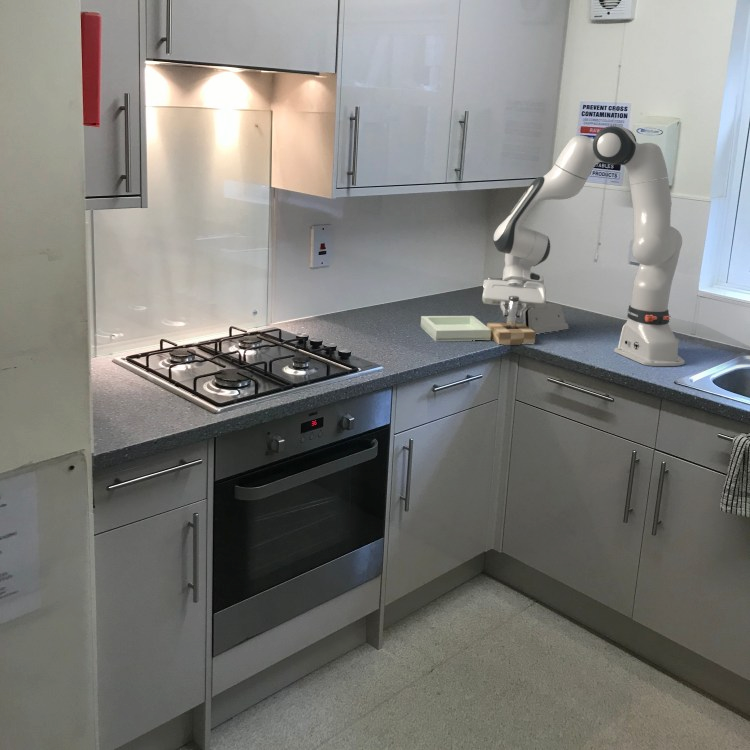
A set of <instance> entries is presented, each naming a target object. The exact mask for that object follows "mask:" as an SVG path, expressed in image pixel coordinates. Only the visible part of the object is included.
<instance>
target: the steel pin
mask: <svg viewBox="0 0 750 750" xmlns="http://www.w3.org/2000/svg"><path fill="white" fill-rule="evenodd" d="M518 301H519V297H518V296H509V304H508V307H507V308H508V315H507V316H506V323H507V325H506V329H516V323H517V321H518V320H517V318H518V317H517V310H519V309H518V308H519V307H518Z"/></svg>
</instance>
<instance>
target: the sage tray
mask: <svg viewBox="0 0 750 750" xmlns="http://www.w3.org/2000/svg"><path fill="white" fill-rule="evenodd" d="M420 328H421V329H422V330H424V332H426V334H427V335H429V336H430V337H431V339H433V340H434V342H476V341H475V340H490V341H491V338H490V337H491V330H490V329H489V328H488V327H487V325H485V324H484V323H483V322H482V321H480V320H479V319H478V318H477V317H475V316H474V315H428V316H427V315H421V316H420ZM472 340H473V341H472Z"/></svg>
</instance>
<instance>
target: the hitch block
mask: <svg viewBox="0 0 750 750" xmlns="http://www.w3.org/2000/svg"><path fill="white" fill-rule="evenodd" d="M506 325H507V322H487V323H486V326H487V327H488V328H489V329H490V330H491V337H490V340H492V339H493V340H494V341H495V342H497V343H498V344H504V345H503V346H516V345H517V346H521V345H520V344H522V343H524V344H526V343H536V332H535V331H533V330H532V329H530V328H529V327H528V326H526V325H525V324H524V322H521V321H519V322H516V329H506ZM493 340H492V341H493ZM494 341H493V342H494ZM495 342H494V343H495ZM497 343H496V344H497ZM498 344H497V345H498Z"/></svg>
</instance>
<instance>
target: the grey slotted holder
mask: <svg viewBox="0 0 750 750" xmlns="http://www.w3.org/2000/svg"><path fill="white" fill-rule="evenodd" d="M522 314H523V317H522V318H523V324H525V325H526V326H528V327H529V328H530V329H532V330H533V331H535V332H536V333H543V332H549V331H556V332H558V331H557V330H563V329H570V328H569V324H568V323H567V322H566V318H565V315H564V312H563V307H562V305H560V304H556V303H550V302H546V305H545V307H544V308H542V309H540V308H529V307H527V308H526V310H525V311H524V312H523V313H522ZM563 331H564V330H563Z"/></svg>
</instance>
